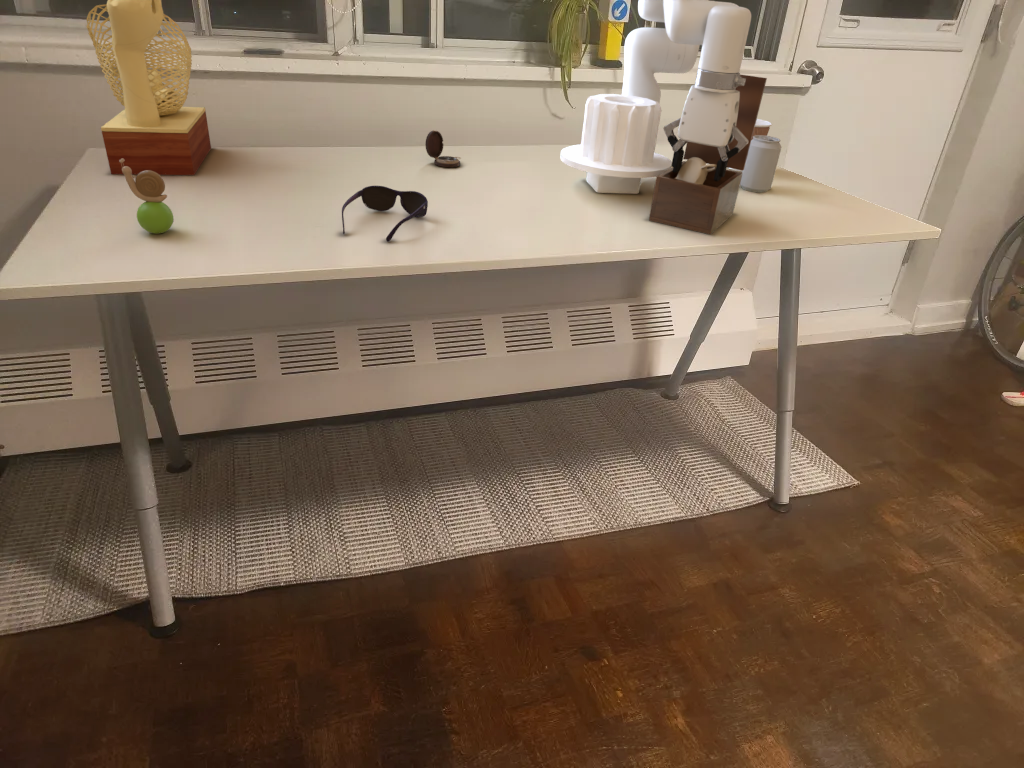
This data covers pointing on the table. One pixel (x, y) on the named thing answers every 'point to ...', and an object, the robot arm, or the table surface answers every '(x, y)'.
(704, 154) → the chest lid
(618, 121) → the flanged gear
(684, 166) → the beige rounded piece
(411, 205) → the sunglasses
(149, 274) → the table surface
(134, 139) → the cream lattice sculpture
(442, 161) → the compass
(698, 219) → the chest
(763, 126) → the coffee cup
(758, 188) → the can
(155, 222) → the snail figurine
